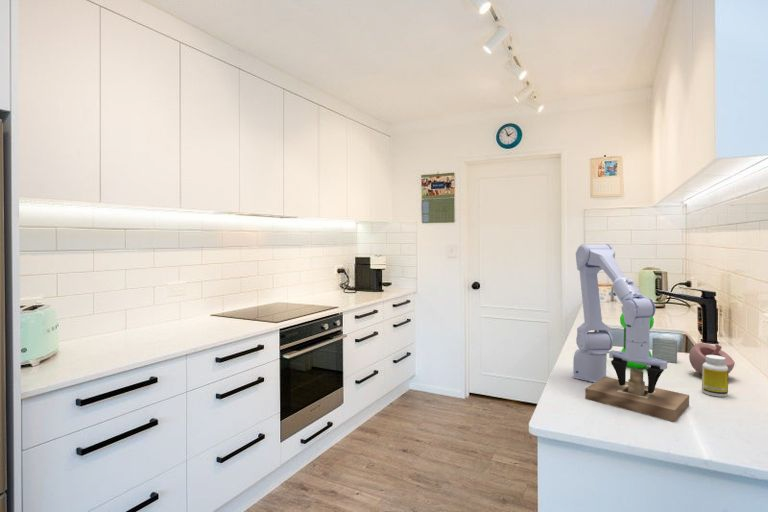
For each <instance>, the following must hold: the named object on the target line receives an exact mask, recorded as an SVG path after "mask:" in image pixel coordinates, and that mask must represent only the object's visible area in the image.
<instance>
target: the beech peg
mask: <svg viewBox="0 0 768 512" xmlns="http://www.w3.org/2000/svg"><path fill="white" fill-rule="evenodd" d="M629 371H630V372H629V379H628V381H627V382H628V393H632V394H636V395H640V396H645V385H646V381H645V380H644V370H641V369H638V368H631V369H629Z"/></svg>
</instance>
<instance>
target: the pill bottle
mask: <svg viewBox="0 0 768 512" xmlns="http://www.w3.org/2000/svg"><path fill="white" fill-rule="evenodd" d="M706 361H707V362H705V363H704V364H703V366H702V374H701V391H702V393H703V394H706V395H709V396H712V397H719V398H721V397H722V398H723V397H724V398H725V397H727V396H728V394H729V374H728V372H729V371H728V367H727V366H726V365H725V364H724V363H725V362H726V358H725V357H722V356H717V355H706Z"/></svg>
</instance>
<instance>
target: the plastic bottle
mask: <svg viewBox="0 0 768 512" xmlns="http://www.w3.org/2000/svg"><path fill="white" fill-rule="evenodd" d="M619 322H620V325H621V327H622V328H623V347H622V349H621V351H620V352H626V324H625V321H624V315H623V313H622V312H621V314H620V318H619ZM654 322H655V319H654V316H653V317H652V318H650V330H651V329H652V328H653V327H654ZM649 357H652V351H650V350H649ZM627 366H628V367H629V368H631V369H639V370H641V369H644V368H646V367H647V366H648V365H643V364H639V363H634V362H630V361H627ZM627 366H626V367H627Z"/></svg>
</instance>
